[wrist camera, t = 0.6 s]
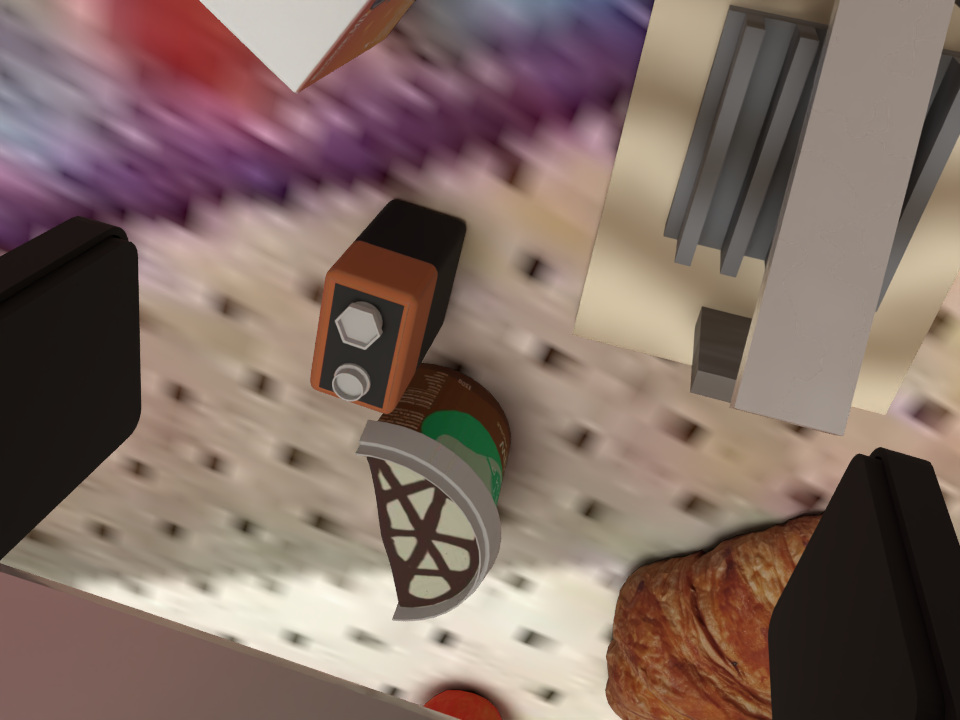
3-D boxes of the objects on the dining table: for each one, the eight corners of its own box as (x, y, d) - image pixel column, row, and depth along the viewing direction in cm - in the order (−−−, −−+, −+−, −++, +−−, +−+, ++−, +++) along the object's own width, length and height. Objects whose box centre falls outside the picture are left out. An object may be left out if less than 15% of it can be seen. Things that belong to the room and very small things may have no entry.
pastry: (579, 504, 54) (557, 600, 47) (849, 505, 49) (868, 612, 43) (612, 690, 62) (598, 795, 55) (848, 706, 57) (863, 823, 51)
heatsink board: (707, -210, 34) (702, -215, 27) (1146, -132, 32) (1247, -118, 26) (576, 320, 47) (552, 398, 41) (881, 398, 45) (904, 491, 39)
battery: (470, 220, 45) (411, 310, 37) (443, 327, 49) (385, 431, 41) (390, 194, 46) (315, 277, 37) (370, 303, 49) (297, 401, 41)
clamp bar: (847, -52, 31) (858, -71, 30) (953, -32, 30) (968, -49, 29) (728, 407, 30) (734, 407, 29) (833, 435, 30) (844, 436, 29)
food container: (538, 515, 55) (503, 640, 46) (443, 508, 56) (394, 627, 48) (521, 343, 48) (478, 451, 40) (415, 340, 50) (353, 444, 42)
